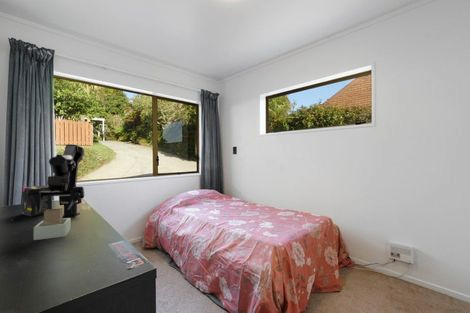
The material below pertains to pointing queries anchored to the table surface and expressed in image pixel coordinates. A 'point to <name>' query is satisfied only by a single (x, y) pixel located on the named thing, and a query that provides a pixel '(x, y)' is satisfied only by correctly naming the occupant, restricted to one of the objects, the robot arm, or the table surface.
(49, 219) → the tan upright block
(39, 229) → the pale green open tray
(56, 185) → the robot arm
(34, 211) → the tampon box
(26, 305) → the table surface
